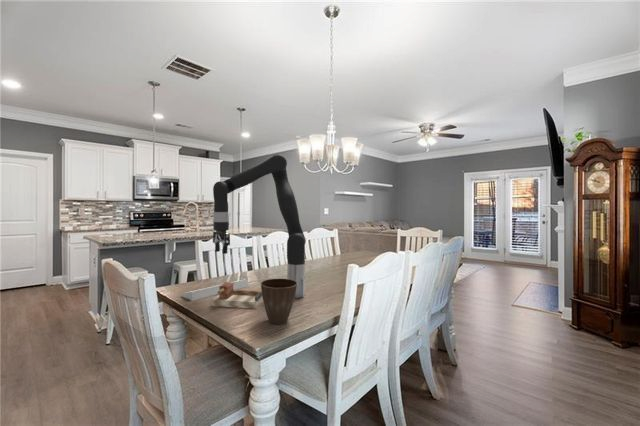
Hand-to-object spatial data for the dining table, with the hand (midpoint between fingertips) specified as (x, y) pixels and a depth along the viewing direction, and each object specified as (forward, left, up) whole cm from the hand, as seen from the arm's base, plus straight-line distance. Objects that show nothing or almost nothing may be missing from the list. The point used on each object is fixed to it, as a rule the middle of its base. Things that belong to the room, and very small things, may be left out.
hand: (221, 252), depth 153 cm
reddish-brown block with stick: (-6, +10, -20) cm, 23 cm away
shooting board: (-12, +8, -23) cm, 27 cm away
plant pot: (-36, +26, -23) cm, 50 cm away
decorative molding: (+6, -9, -24) cm, 26 cm away
